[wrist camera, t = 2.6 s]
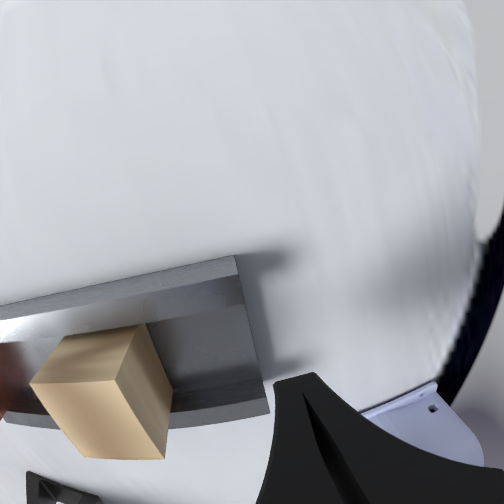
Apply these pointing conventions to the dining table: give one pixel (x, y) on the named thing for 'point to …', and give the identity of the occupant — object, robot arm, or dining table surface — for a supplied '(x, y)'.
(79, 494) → the phone stand
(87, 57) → the dining table surface
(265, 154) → the dining table surface
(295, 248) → the dining table surface
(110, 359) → the oak block
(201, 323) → the chute
